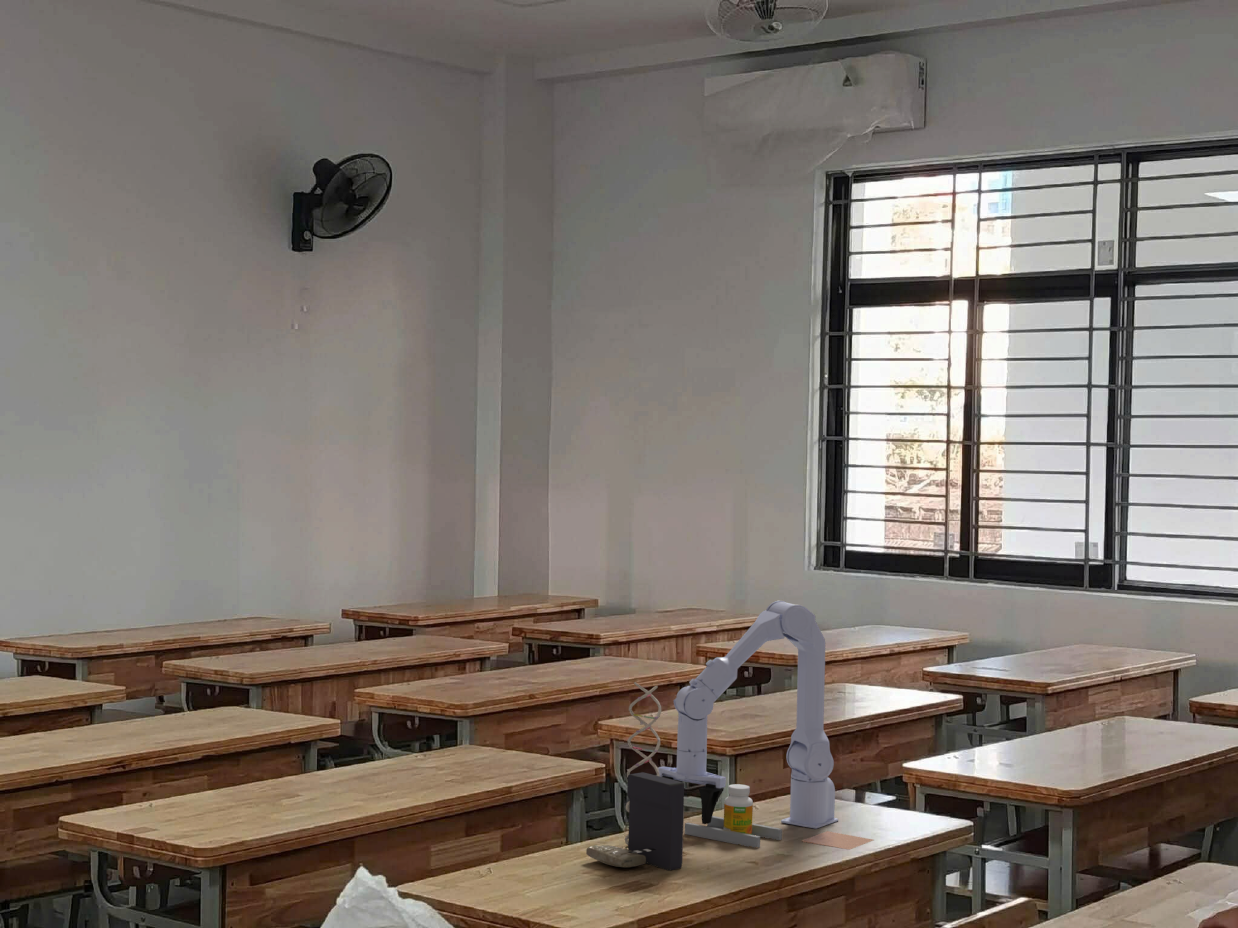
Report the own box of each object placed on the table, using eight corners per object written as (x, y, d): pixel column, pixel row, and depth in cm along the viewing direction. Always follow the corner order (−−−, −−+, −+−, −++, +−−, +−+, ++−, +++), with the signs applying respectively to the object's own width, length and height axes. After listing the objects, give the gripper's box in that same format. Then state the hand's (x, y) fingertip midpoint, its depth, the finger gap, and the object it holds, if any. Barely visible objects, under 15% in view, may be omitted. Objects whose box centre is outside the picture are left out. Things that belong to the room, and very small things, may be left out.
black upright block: (685, 867, 270) (687, 781, 270) (667, 871, 267) (669, 784, 267) (642, 854, 278) (645, 771, 278) (624, 858, 276) (627, 773, 275)
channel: (710, 825, 302) (710, 815, 302) (781, 839, 293) (782, 828, 293) (684, 833, 295) (684, 823, 295) (757, 848, 286) (757, 837, 286)
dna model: (665, 848, 283) (670, 683, 283) (642, 854, 279) (647, 687, 279) (638, 841, 288) (643, 679, 288) (615, 847, 283) (620, 682, 283)
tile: (827, 832, 299) (827, 830, 299) (874, 841, 293) (874, 839, 293) (801, 842, 291) (801, 840, 291) (849, 851, 285) (849, 849, 285)
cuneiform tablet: (631, 852, 264) (586, 838, 273) (630, 875, 264) (584, 859, 273) (656, 849, 268) (610, 834, 277) (655, 871, 268) (609, 856, 277)
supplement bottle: (731, 841, 290) (733, 789, 290) (718, 835, 295) (719, 784, 295) (756, 839, 292) (758, 788, 292) (743, 833, 297) (744, 782, 297)
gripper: (649, 747, 301) (647, 817, 301) (712, 757, 292) (710, 829, 292) (669, 742, 306) (667, 811, 306) (732, 752, 298) (730, 823, 298)
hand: (689, 819), depth 300 cm, fingers open, 7 cm apart
